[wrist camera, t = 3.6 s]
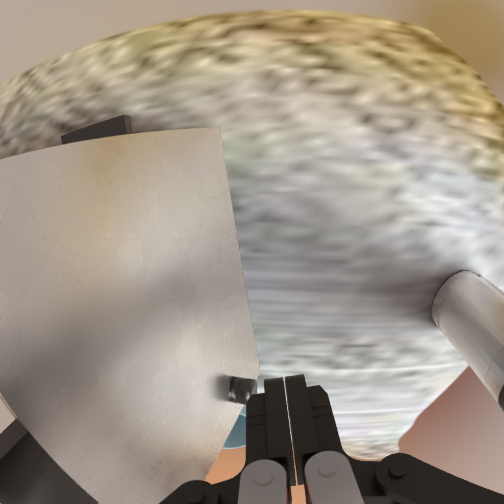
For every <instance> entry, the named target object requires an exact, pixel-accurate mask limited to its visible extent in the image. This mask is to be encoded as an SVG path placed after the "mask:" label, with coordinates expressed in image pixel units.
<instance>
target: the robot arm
mask: <svg viewBox="0 0 504 504" xmlns="http://www.w3.org/2000/svg"><path fill="white" fill-rule="evenodd" d="M432 319H433V321H434V323H435V324H436V325H437V326H438V328H439V329H440V330H441V331H442V332H443V333H444V335H445V336H446V337H447V338H448V340H449V341H450V342H451V343H452V345H453V346H454V347H455V348H456V349H457V351H458V352H459V353H460V354H461V356H462V357H463V358H464V359H465V361H466V362H467V363H468V364H469V366H470V367H471V368H472V369H473V371H474V372H475V373H476V375H477V376H478V377H479V378H480V380H481V381H482V382H483V384H484V385H485V386H486V388H487V389H488V390H489V392H490V393H491V394H492V396H493V397H494V398H495V400H496V401H497V403H498V404H499V405H500V407H501V408H502V409H503V411H504V292H503V291H501V290H500V289H499V288H498V287H496V286H495V285H494V284H492V283H491V282H490V281H488V280H487V279H486V278H484V277H483V276H480V277H478V276H477V275H475V274H474V273H472V272H470V271H462V272H459V273H457V274H454V275H453V276H452V277H450V278H449V279H448V280H447V281H446V282H445V283H444V284H443V285H442V286H441V288H440V289H439V291H438V293H437V294H436V296H435V299H434V301H433V305H432ZM285 385H286V394H287V403H288V411H289V419H290V426H291V434H292V442H293V449H294V457H295V465H296V472H297V481H298V485H302V484H304V488H305V496H306V504H504V495H503V494H500V493H497V492H494V491H492V490H489V489H486V488H484V487H481V486H478V485H476V484H473V483H471V482H468V481H466V480H464V479H461V478H458V477H456V476H454V475H452V474H449V473H447V472H445V471H443V470H440V469H438V468H436V467H434V466H432V465H429V464H427V463H425V462H423V461H421V460H419V459H416V458H415V457H412V456H411V455H408V454H404V453H395V454H391V455H389V456H387V457H385V458H384V459H382V460H381V461H359V460H355V459H353V458H351V457H349V456H348V455H347V454H346V453H345V452H344V450H343V449H342V446H341V442H340V438H339V434H338V431H337V427H336V423H335V419H334V416H333V412H332V408H331V405H330V401H329V397H328V394H327V393H326V392H325V391H324V389H323V388H322V387H321V386H320V385H317V386H311V387H307V386H306V382H305V377H304V374H301V375H294V376H287V377H285ZM264 390H265V393H260V394H251V396H250V398H249V400H248V402H247V404H246V462H245V466H244V468H243V469H242V471H241V472H240V473H239V474H238V475H236V476H235V477H233V478H231V479H229V480H226V481H223V482H219V483H216V484H213V485H211V484H210V483H208V482H206V481H202V480H191V481H188V482H185V483H183V484H182V485H180V486H179V487H178V488H177V489H176V490H174V491H173V492H172V493H171V494H170V495H168V496H167V497H166V498H165V499H164V500H162V501H161V502H160V503H159V504H291V503H292V496H291V486H295V485H296V479H295V469H294V458H293V450H292V443H291V434H290V426H289V419H288V411H287V403H286V396H285V388H284V381H283V377H281V378H273V379H265V380H264Z"/></svg>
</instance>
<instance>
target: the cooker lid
mask: <svg viewBox="0 0 504 504" xmlns="http://www.w3.org/2000/svg"><path fill="white" fill-rule="evenodd" d="M259 373H260V367H259V361H258V356H257V350H256V344H255V338H254V333H253V327H252V321H251V315H250V310H249V304H248V298H247V292H246V286H245V280H244V274H243V269H242V263H241V257H240V251H239V245H238V239H237V233H236V226H235V220H234V214H233V208H232V202H231V196H230V189H229V183H228V177H227V171H226V164H225V158H224V152H223V145H222V139H221V132H220V127H211V128H191V129H176V130H164V131H153V132H144V133H135V134H126V135H119V136H111V137H104V138H98V139H92V140H86V141H80V142H74V143H69V144H64V145H58V146H54V147H49V148H44V149H40V150H35V151H31V152H27V153H23V154H19V155H15V156H11V157H7V158H3V159H0V399H1V400H2V402H3V403H4V404H5V406H6V407H7V409H8V410H9V411H10V413H11V414H12V415H13V417H14V418H15V420H14V421H13V422H12V423H11V424H10V425H9V426H8V427H7V428H6V429H5V430H4V431H3V432H2V433H1V434H0V503H1V504H159V503H160V502H161V501H162V500H164V499H165V498H166V497H167V496H168V495H170V494H171V493H172V492H173V491H174V490H176V489H177V488H178V487H179V486H180V485H182V484H183V483H185V482H188V481H191V480H202V481H204V480H205V478H206V476H207V475H208V473H209V471H210V469H211V467H212V466H213V464H214V462H215V460H216V458H217V456H218V454H219V452H220V451H221V449H222V447H223V445H224V443H225V441H226V439H227V437H228V436H229V434H230V432H231V430H232V428H233V426H234V424H235V422H236V420H237V418H238V416H239V414H240V412H241V410H242V408H243V406H244V405H246V404H247V402H248V400H249V398H250V396H251V394H257V382H256V380H257V378H258V376H259Z"/></svg>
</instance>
